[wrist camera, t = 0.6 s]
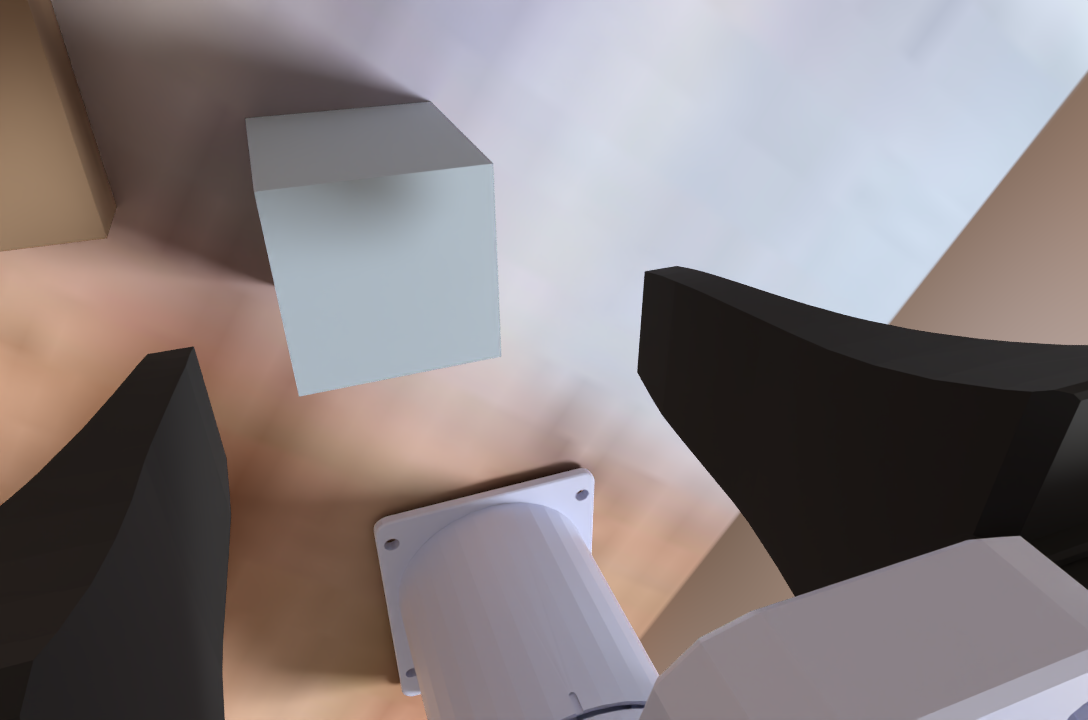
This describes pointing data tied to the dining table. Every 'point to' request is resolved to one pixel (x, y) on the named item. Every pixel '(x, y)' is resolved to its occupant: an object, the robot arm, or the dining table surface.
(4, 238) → the brown block
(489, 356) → the slate block
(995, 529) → the robot arm
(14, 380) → the dining table surface
